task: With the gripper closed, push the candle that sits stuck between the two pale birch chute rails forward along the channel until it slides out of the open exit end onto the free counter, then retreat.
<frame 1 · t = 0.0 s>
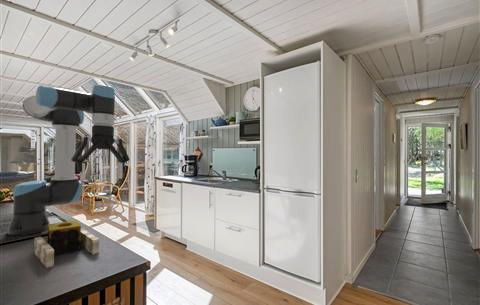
hand: (102, 179, 94), 28 cm above the kitchen island, fingers open, 13 cm apart
rail 2: (87, 247, 97), on the kitchen island
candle: (63, 250, 94), on the kitchen island
rail 1: (43, 258, 86), on the kitchen island
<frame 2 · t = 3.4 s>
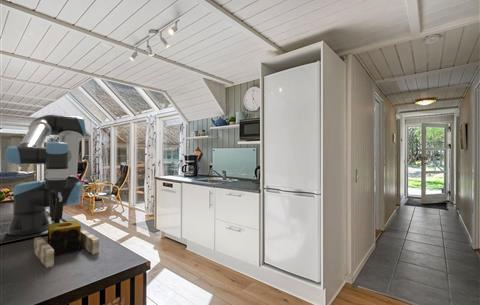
hand: (55, 234, 101), 3 cm above the kitchen island, fingers closed
nothing on the kitchen island moved.
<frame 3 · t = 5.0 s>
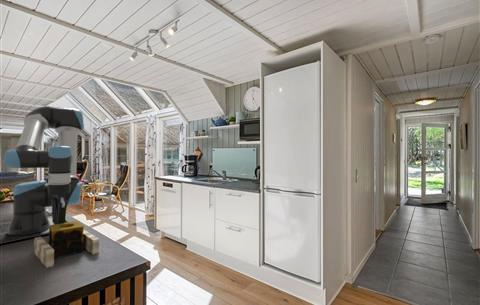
hand: (58, 240, 98), 2 cm above the kitchen island, fingers closed
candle: (65, 251, 93), on the kitchen island, touching hand
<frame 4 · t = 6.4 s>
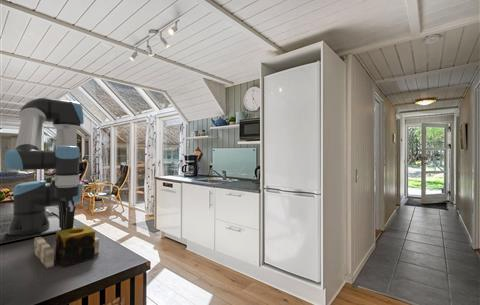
hand: (65, 247, 92), 2 cm above the kitchen island, fingers closed
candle: (74, 259, 87), on the kitchen island, touching hand
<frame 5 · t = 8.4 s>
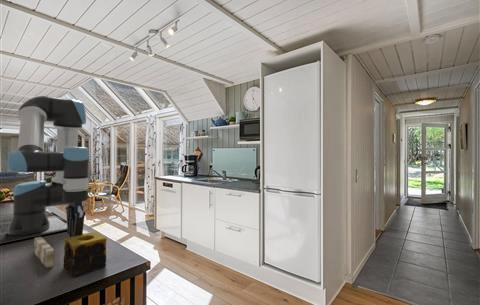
hand: (74, 255, 86), 2 cm above the kitchen island, fingers closed
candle: (84, 268, 81), on the kitchen island, touching hand
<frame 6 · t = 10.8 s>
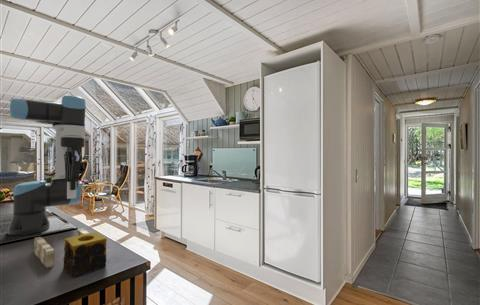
hand: (71, 197, 93), 21 cm above the kitchen island, fingers closed
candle: (84, 268, 81), on the kitchen island
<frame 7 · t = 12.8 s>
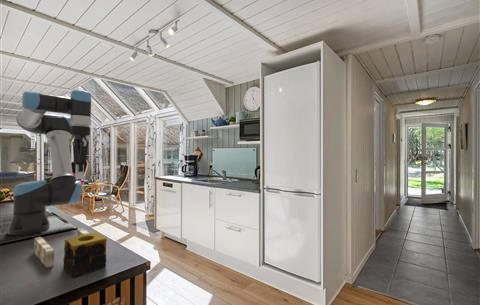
hand: (79, 178, 107), 26 cm above the kitchen island, fingers closed
nothing on the kitchen island moved.
at the end: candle inside the target area (0.5 cm from its centre), on the kitchen island; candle tilted 0° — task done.
